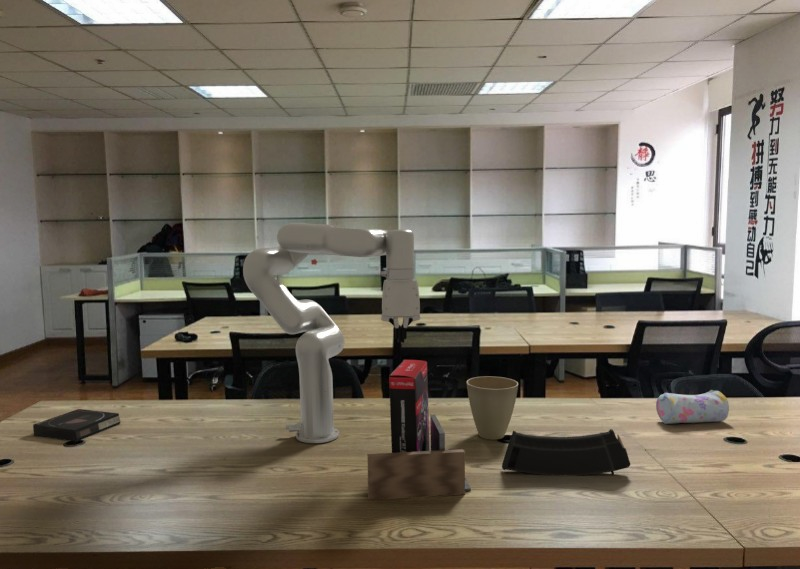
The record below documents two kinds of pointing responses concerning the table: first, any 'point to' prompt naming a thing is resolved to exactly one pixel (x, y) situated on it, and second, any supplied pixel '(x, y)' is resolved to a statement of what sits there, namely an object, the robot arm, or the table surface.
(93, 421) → the portable cd player
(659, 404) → the pencil case
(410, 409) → the graphics card box
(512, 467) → the black curved panel
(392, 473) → the shelf lip
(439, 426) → the bookend
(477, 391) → the plant pot
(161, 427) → the table surface
